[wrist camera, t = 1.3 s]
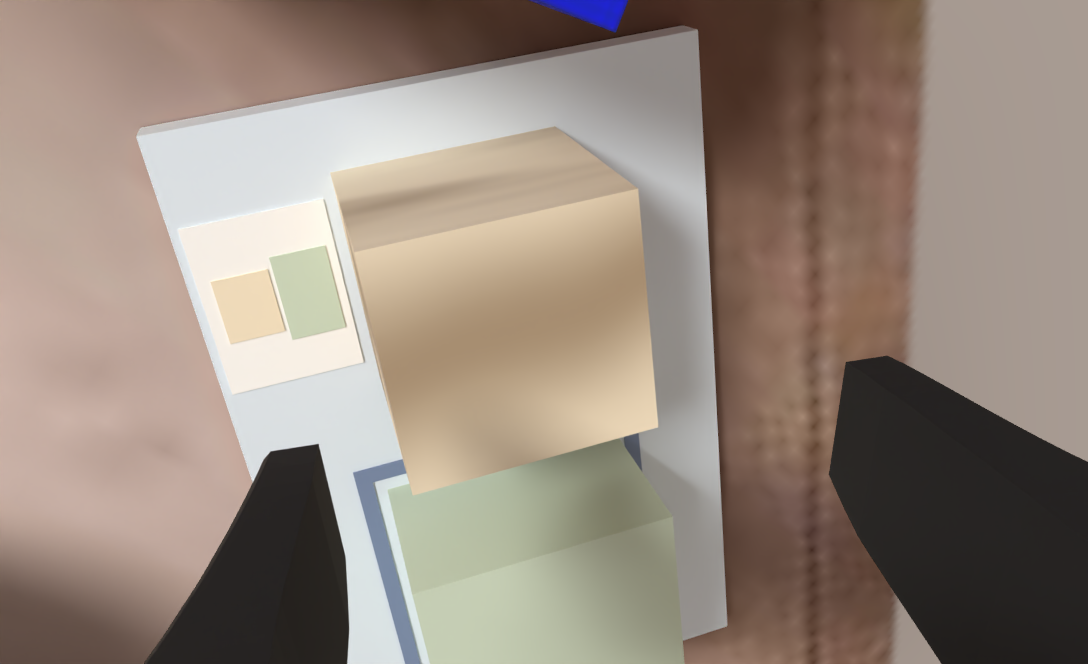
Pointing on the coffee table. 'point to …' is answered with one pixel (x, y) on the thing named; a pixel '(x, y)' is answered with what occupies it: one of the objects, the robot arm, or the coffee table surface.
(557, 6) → the puzzle toy
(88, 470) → the coffee table surface
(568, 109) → the board
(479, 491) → the sage base block
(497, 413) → the maple block
